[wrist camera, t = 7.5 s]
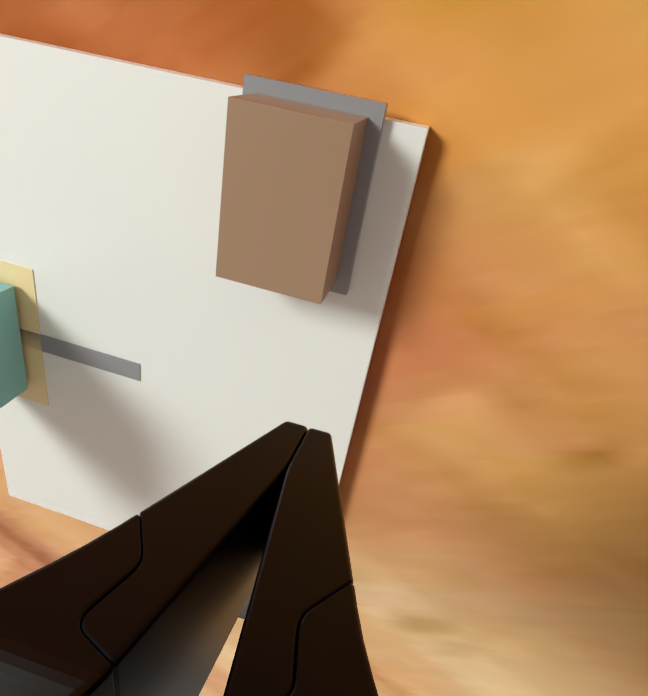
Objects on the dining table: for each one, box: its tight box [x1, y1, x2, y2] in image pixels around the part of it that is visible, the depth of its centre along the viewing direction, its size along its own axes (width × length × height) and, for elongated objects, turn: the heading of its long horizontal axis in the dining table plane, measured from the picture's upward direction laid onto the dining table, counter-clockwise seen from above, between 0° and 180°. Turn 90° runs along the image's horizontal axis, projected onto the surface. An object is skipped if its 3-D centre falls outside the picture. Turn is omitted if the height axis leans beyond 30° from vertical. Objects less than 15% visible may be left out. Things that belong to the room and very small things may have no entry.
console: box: [0, 33, 430, 619], centre depth 25 cm, size 20×27×4 cm
